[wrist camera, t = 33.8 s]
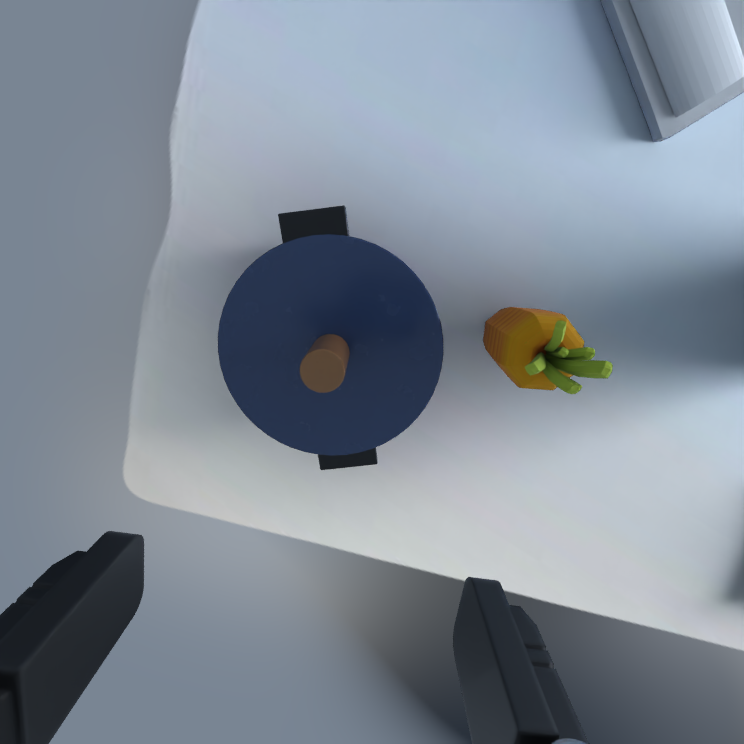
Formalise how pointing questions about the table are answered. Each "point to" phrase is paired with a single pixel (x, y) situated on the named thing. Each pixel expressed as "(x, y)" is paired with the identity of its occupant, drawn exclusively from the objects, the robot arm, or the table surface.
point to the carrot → (540, 349)
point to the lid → (330, 344)
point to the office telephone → (680, 57)
